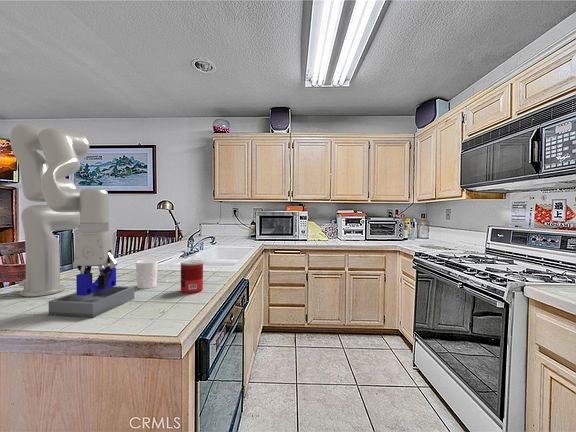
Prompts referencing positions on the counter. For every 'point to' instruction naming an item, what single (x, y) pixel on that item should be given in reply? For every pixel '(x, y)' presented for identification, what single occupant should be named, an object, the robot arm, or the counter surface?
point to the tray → (91, 302)
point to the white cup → (146, 273)
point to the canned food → (191, 276)
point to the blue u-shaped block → (87, 287)
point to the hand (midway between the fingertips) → (95, 286)
